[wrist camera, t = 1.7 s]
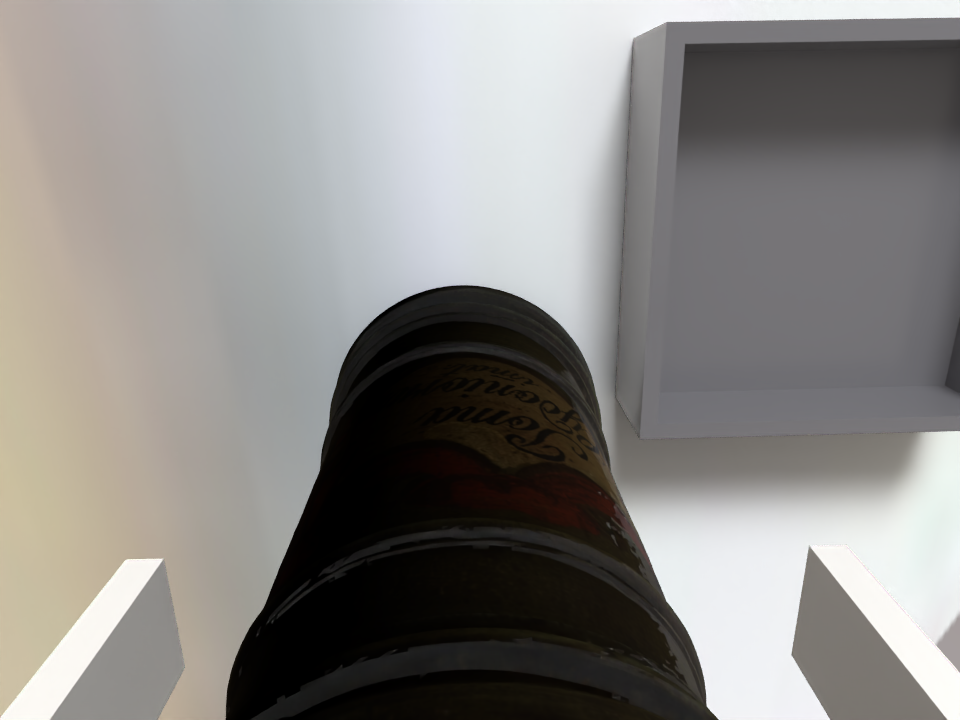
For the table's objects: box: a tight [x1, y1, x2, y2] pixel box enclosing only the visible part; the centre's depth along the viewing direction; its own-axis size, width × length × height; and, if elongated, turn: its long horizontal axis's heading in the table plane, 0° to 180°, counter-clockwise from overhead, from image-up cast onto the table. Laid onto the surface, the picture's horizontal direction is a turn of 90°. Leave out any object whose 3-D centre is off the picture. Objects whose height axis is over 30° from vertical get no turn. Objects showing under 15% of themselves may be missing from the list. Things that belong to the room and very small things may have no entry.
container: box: [226, 285, 718, 720], centre depth 16 cm, size 9×9×18 cm
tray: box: [615, 18, 960, 439], centre depth 21 cm, size 12×12×4 cm
